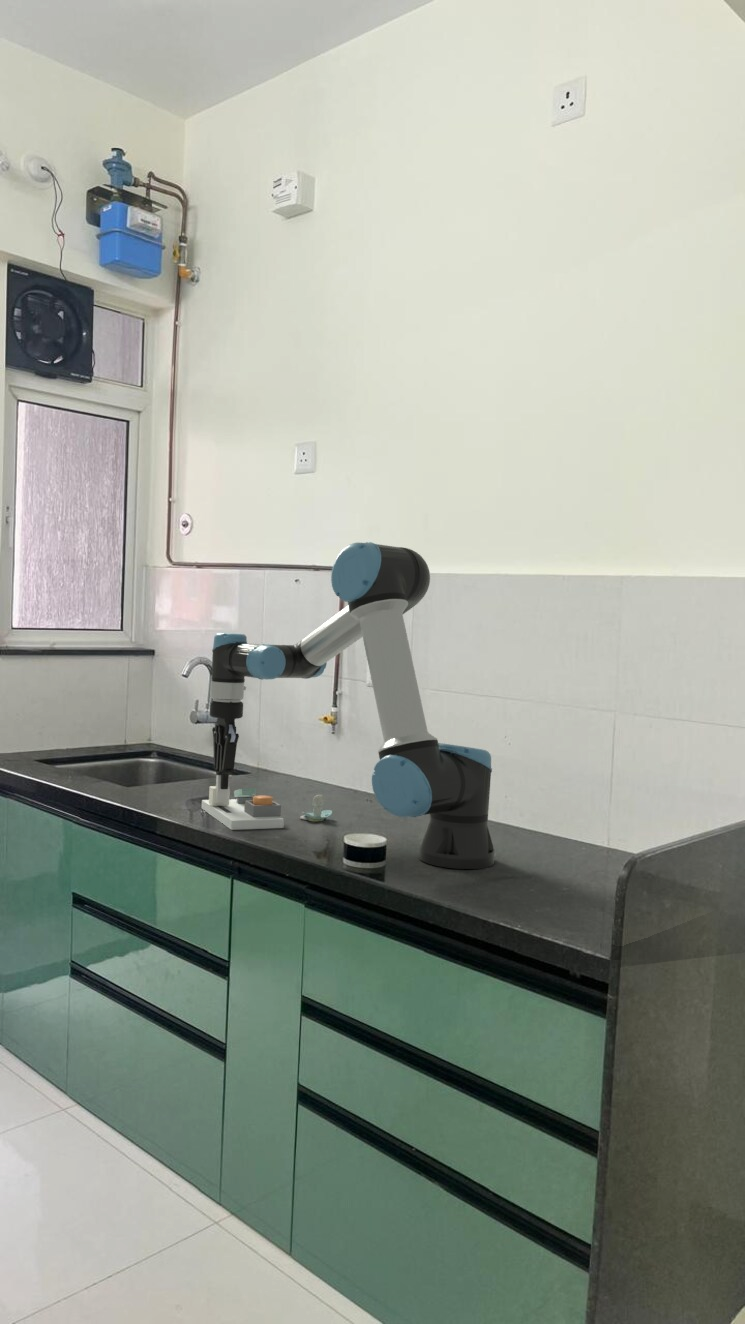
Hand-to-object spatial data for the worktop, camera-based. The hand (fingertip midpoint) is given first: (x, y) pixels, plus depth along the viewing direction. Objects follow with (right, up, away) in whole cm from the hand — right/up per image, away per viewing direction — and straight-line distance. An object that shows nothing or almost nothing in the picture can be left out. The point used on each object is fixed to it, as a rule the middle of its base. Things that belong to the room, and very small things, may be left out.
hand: (221, 802), depth 232 cm
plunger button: (+10, -1, -5) cm, 11 cm away
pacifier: (+21, -5, +2) cm, 22 cm away
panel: (+5, -4, 0) cm, 6 cm away
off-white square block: (-1, -1, +2) cm, 2 cm away
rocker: (+5, +1, +7) cm, 8 cm away
